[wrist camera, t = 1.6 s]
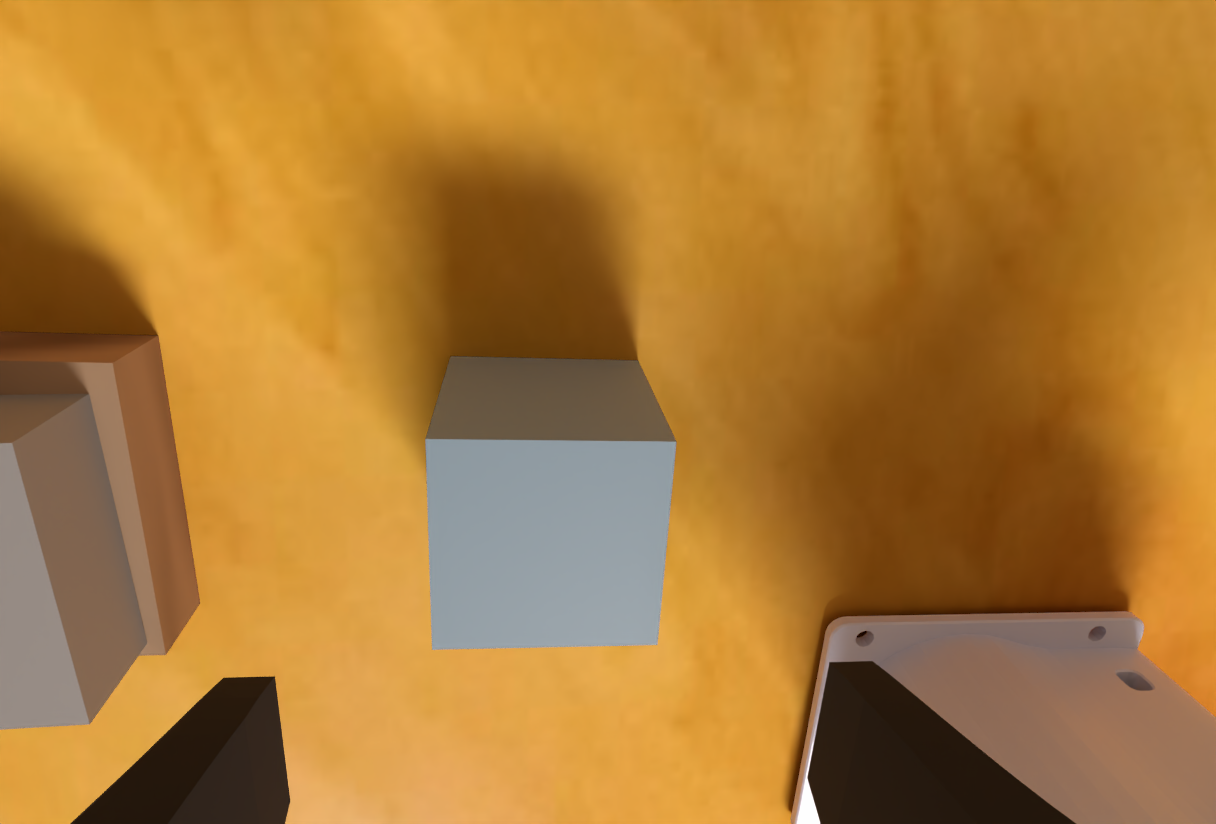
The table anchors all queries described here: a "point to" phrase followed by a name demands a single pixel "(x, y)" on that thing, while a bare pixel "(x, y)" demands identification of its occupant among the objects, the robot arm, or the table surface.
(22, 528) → the grey middle block
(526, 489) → the slate blue block
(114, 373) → the walnut base block
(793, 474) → the table surface
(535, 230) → the table surface
